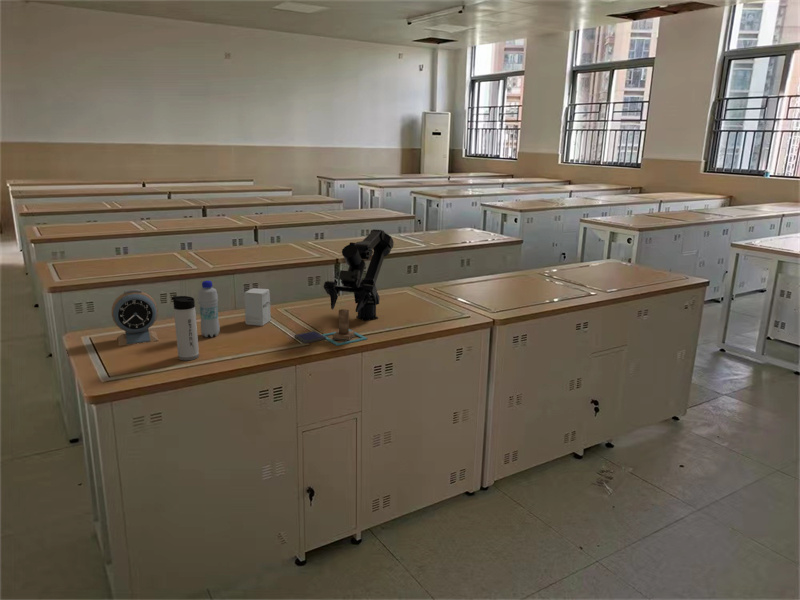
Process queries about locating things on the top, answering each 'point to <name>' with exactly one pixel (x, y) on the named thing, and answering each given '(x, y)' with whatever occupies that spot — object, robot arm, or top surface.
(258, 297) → the supplement box
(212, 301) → the bottle
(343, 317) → the stamp
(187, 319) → the travel mug
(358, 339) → the frame
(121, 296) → the alarm clock
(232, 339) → the top surface
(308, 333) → the ink pad
